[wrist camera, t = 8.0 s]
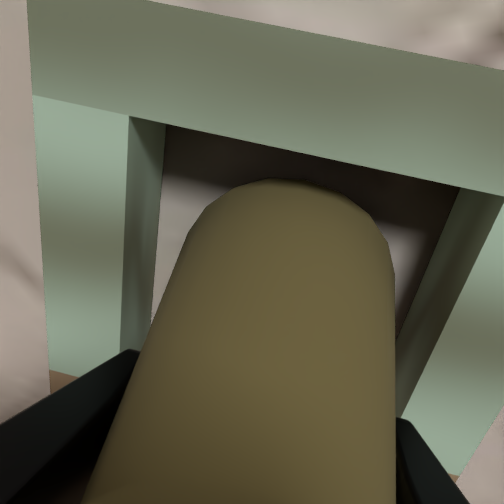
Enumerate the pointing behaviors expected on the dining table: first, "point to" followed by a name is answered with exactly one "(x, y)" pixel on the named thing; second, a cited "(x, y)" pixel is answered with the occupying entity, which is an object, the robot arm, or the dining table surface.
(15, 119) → the dining table surface
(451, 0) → the dining table surface
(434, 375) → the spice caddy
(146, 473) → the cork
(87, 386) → the robot arm
